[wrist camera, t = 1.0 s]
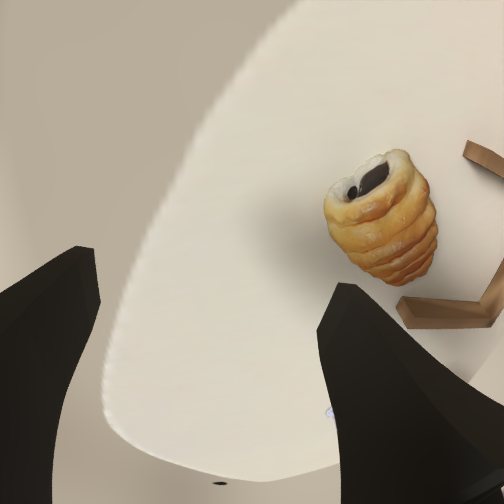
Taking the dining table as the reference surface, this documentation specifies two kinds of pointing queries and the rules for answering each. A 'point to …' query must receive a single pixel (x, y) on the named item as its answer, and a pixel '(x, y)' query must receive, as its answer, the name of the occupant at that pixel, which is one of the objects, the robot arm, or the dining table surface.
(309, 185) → the dining table surface
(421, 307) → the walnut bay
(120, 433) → the dining table surface
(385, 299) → the dining table surface
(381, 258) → the pastry
